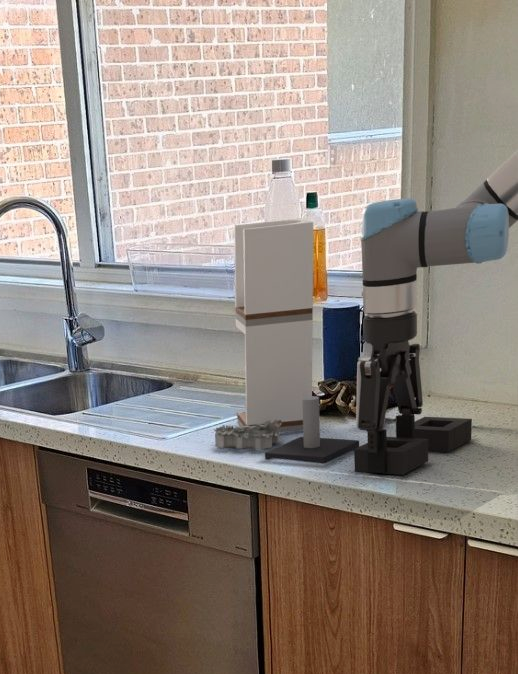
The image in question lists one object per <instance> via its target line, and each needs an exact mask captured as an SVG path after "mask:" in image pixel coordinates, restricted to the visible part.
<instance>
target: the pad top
mask: <svg viewBox="0 0 518 674" xmlns="http://www.w3.org/2000/svg"><path fill="white" fill-rule="evenodd" d="M472 429H473V419H472V418H464V417H463V418H462V417H461V418H460V417H442V416H441V417H439V416H423V417H421V418H419V419H416V420H415V438H420V439H428V452H435V453H450V452H452V451H453V450H456V449H457V448H459V447H461V446H463V445H465V444H467V443H469V442H471V441H472V431H473V430H472Z"/></svg>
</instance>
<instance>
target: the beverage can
mask: <svg viewBox="0 0 518 674" xmlns="http://www.w3.org/2000/svg"><path fill="white" fill-rule="evenodd" d="M370 359H371V355H364V356H359V357H358V359H357V360H358V361H357V363H356V364H357V365H356V367H357V368H356V371H357V372H356V405H355V406H356V409H355V411H356V413H355V425H356V427H357V428H358V420H359V404H360V388H361V372H360V363H361V361H369V360H370ZM385 424H386V419H385V420H384V425H383V427H384V426H385Z"/></svg>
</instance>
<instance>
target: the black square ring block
mask: <svg viewBox="0 0 518 674" xmlns="http://www.w3.org/2000/svg"><path fill="white" fill-rule="evenodd" d="M353 452H354V453H353V456H354V457H353V458H354V472H358V473H359V472H361V473H369V472H368V442H366V443H363V444H361V445H359V447H358V448H356V449H354V450H353ZM428 462H429V451H428V439H420V438H402V437H396V436H387V472H386V473H384V474H386V475H397V476H399V475H401V476H403V475H405V474H407V473H409V472H411V471H413V470H415V469H417V468H418V467H420V466H422V465H424V464H426V463H428ZM371 473H373V472H371Z"/></svg>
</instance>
